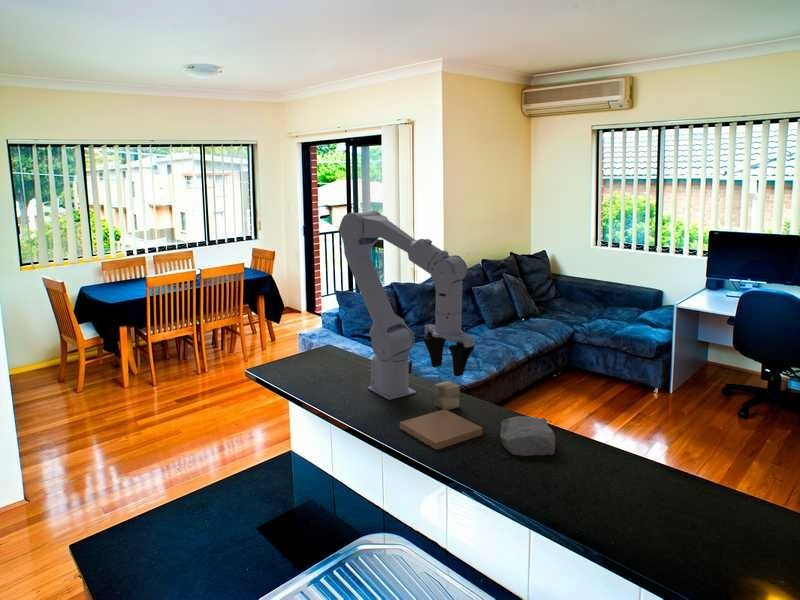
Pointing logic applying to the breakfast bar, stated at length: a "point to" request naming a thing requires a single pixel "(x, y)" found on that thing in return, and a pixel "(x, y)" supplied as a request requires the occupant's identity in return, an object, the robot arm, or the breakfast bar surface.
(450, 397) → the birch block
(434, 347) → the robot arm
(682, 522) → the breakfast bar surface
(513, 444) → the stone block
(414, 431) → the terracotta tile
